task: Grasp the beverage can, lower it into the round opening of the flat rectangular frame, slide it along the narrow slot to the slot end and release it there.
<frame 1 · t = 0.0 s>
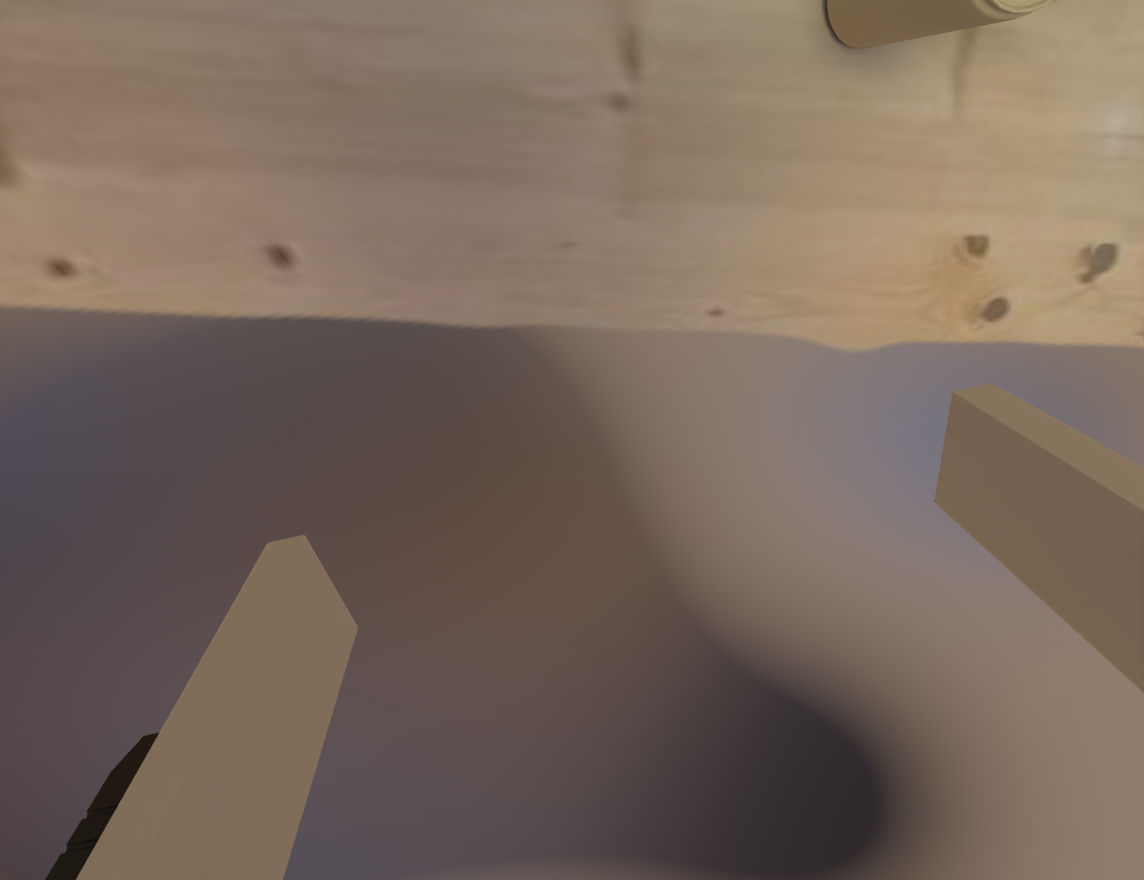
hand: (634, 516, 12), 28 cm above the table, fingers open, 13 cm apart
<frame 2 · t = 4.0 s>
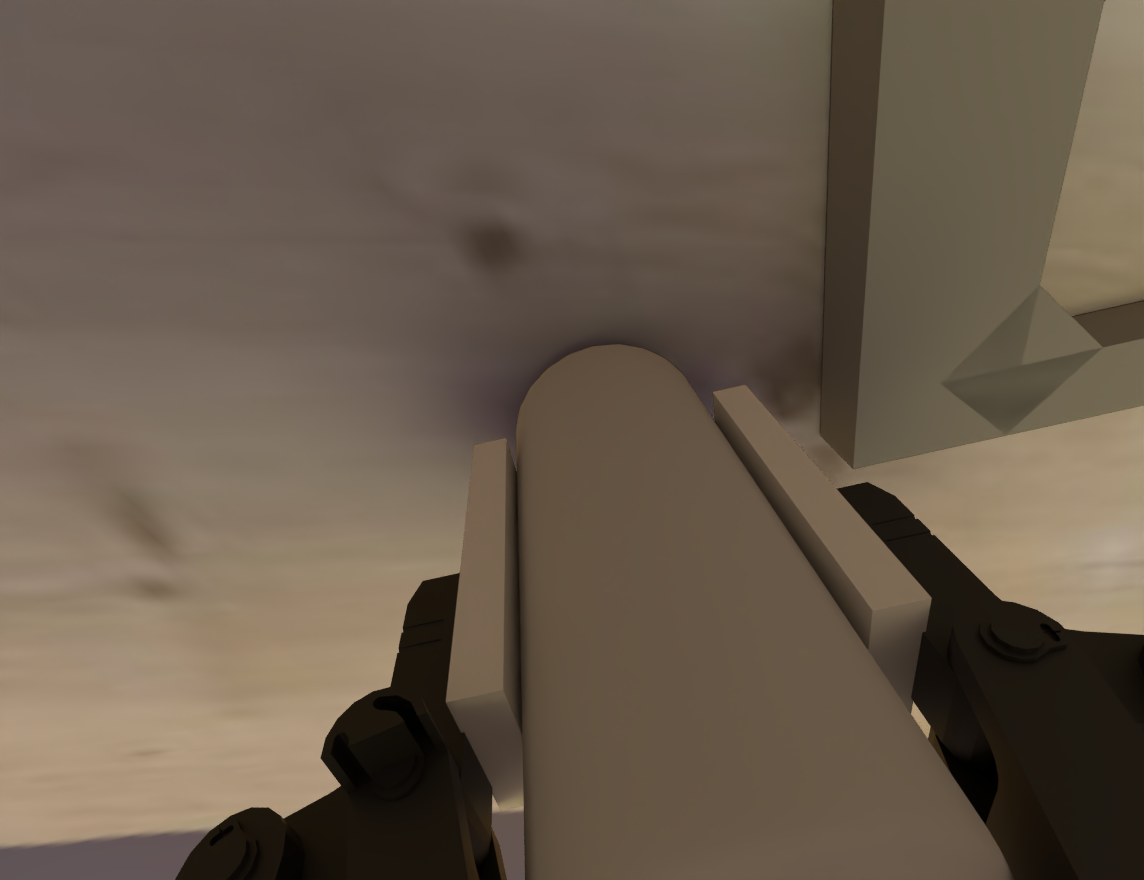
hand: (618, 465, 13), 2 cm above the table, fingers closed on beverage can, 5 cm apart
beverage can: (603, 417, 15), on the table, touching gripper
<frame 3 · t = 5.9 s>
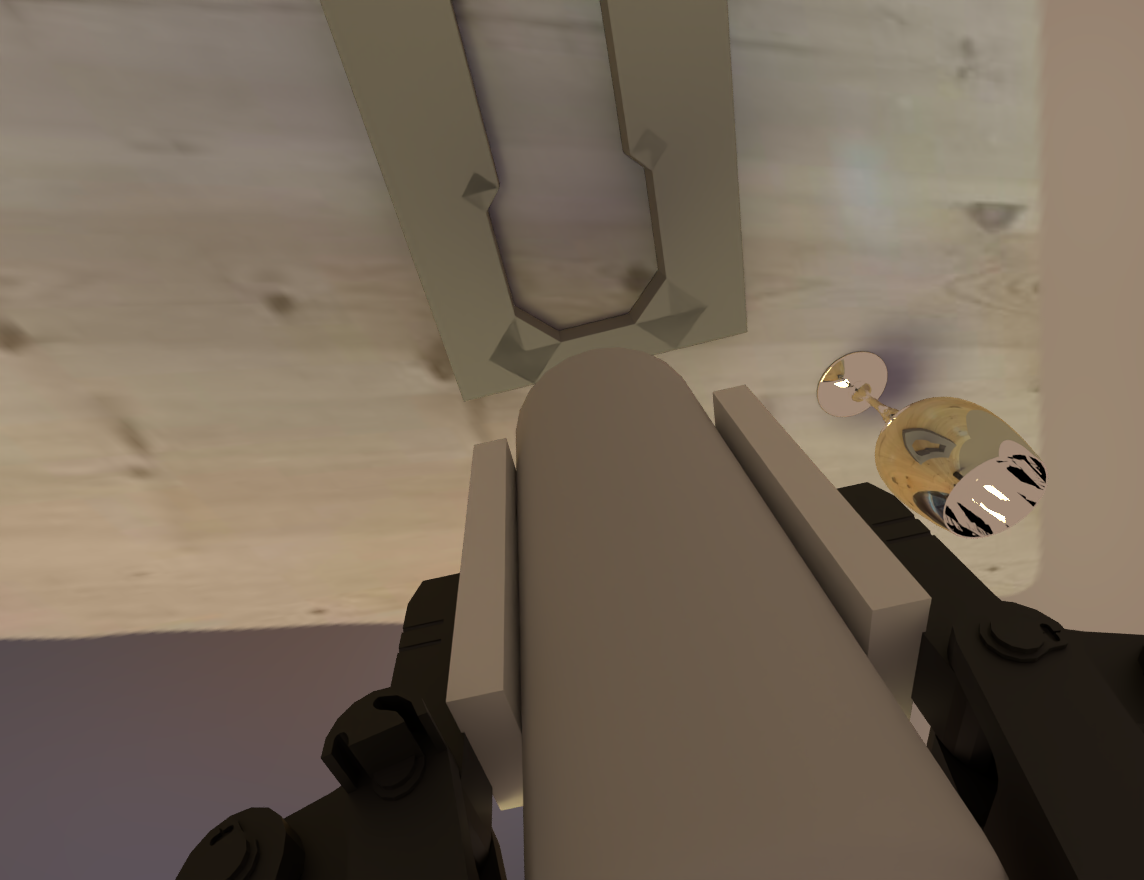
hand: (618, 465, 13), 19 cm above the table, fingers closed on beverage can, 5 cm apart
flat rectangular frame: (551, 121, 26), on the table
beverage can: (603, 419, 16), point 17 cm above the table, touching gripper
wineglass: (850, 383, 35), on the table
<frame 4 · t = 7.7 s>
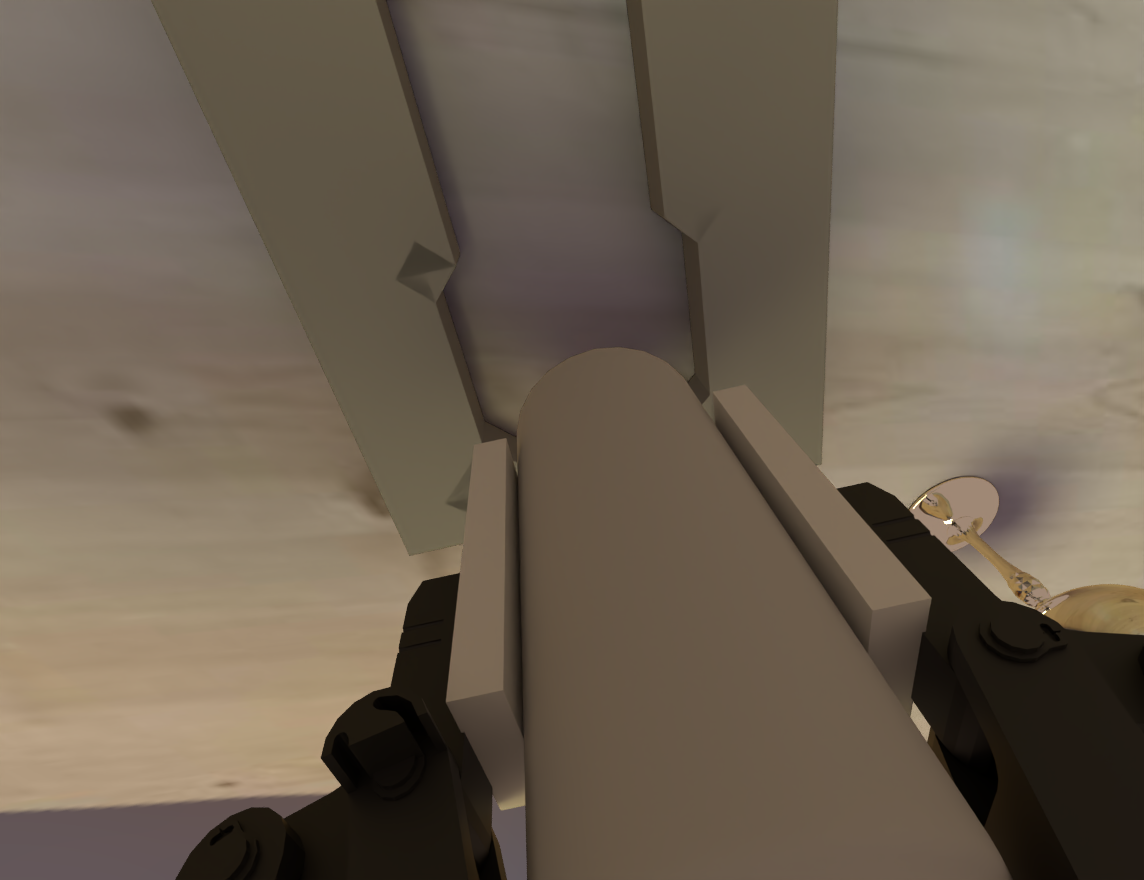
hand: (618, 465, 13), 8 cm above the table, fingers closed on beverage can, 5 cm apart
flat rectangular frame: (541, 162, 17), on the table
beverage can: (604, 419, 16), point 5 cm above the table, touching gripper
wineglass: (946, 514, 26), on the table
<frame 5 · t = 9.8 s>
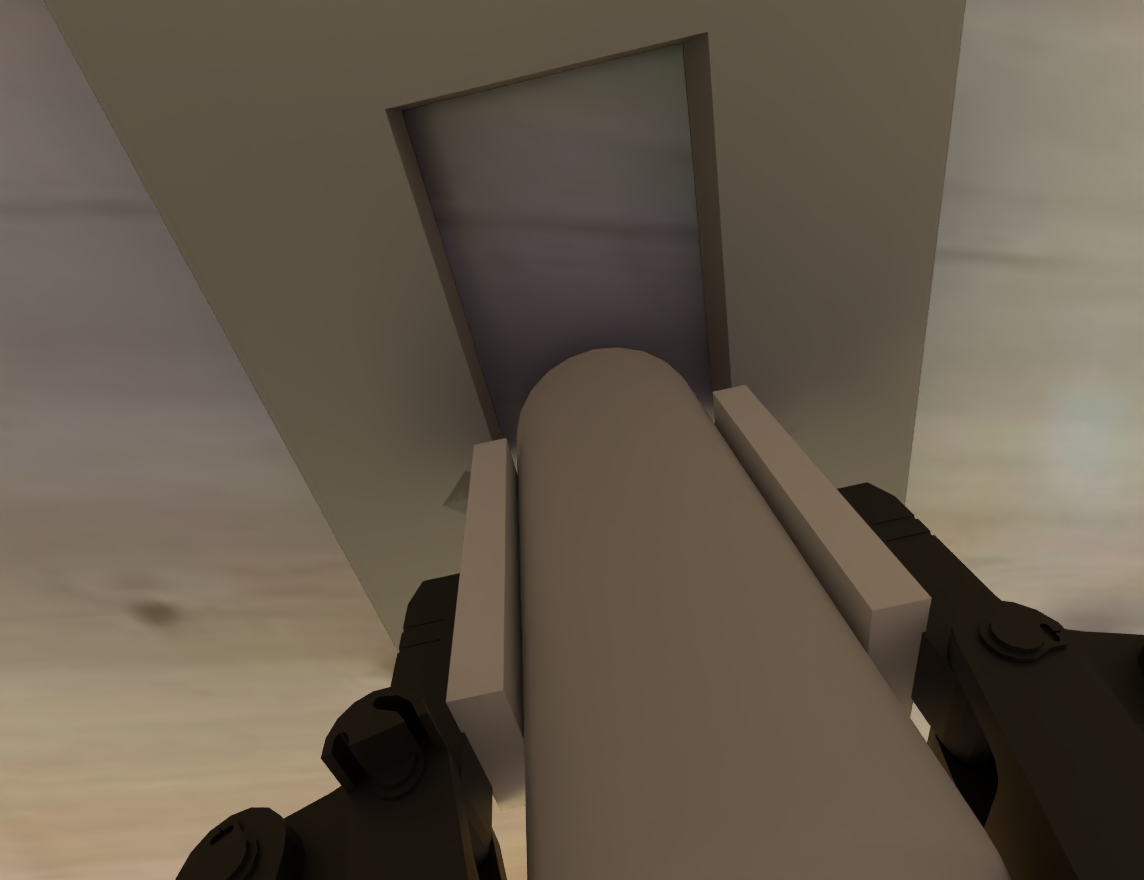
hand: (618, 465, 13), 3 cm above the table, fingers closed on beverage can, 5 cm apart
flat rectangular frame: (598, 371, 16), on the table
beverage can: (604, 420, 16), point 1 cm above the table, touching gripper
when the fingers open (3 cm above the table, at t = 11.8 s): beverage can drops 1 cm, resting in flat rectangular frame.
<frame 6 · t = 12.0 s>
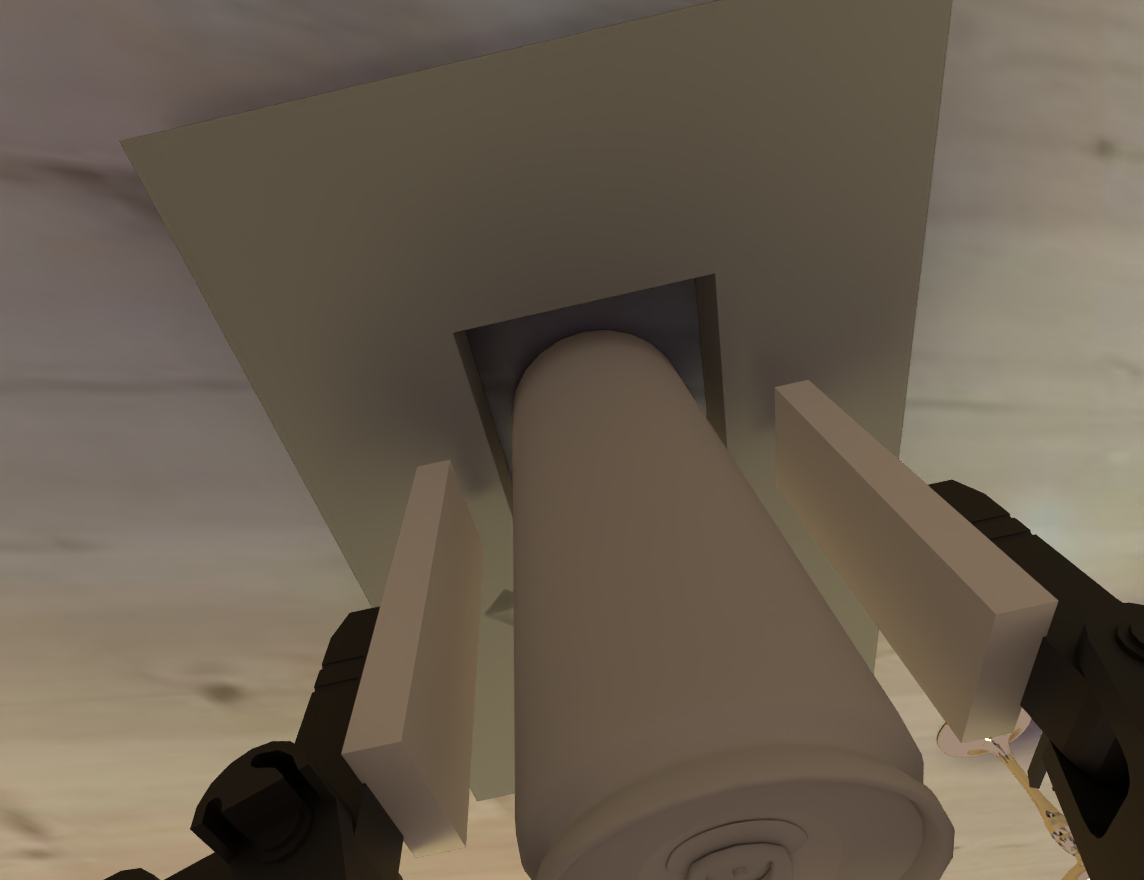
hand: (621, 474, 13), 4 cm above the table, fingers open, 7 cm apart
flat rectangular frame: (617, 497, 18), on the table
beverage can: (594, 400, 17), resting in flat rectangular frame
wineglass: (980, 723, 27), on the table
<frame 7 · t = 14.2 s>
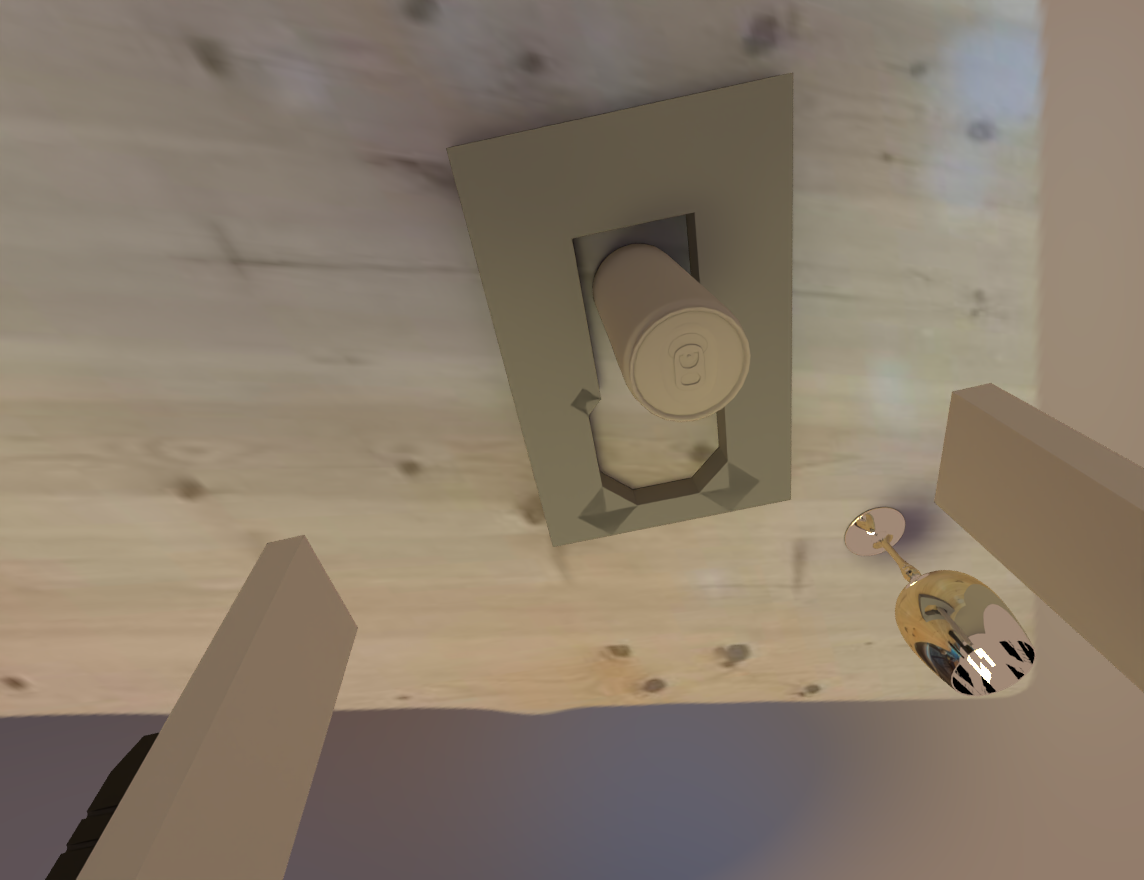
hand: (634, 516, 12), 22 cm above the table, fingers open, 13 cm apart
flat rectangular frame: (643, 344, 33), on the table
beverage can: (633, 285, 31), resting in flat rectangular frame
wineglass: (873, 530, 42), on the table
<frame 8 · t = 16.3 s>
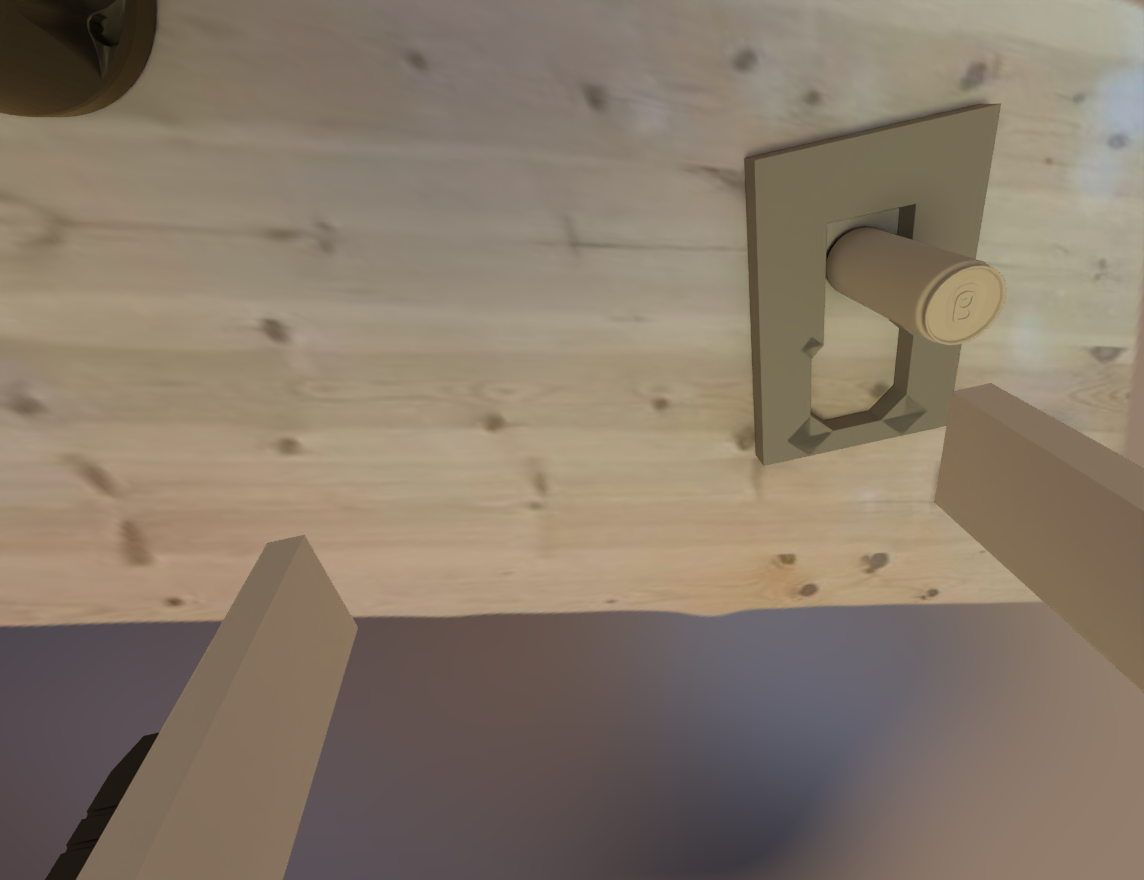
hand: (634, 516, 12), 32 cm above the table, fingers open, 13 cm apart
flat rectangular frame: (852, 304, 44), on the table
beverage can: (852, 259, 42), resting in flat rectangular frame
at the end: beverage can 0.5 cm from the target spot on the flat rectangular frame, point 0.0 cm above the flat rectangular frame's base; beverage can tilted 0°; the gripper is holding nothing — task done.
